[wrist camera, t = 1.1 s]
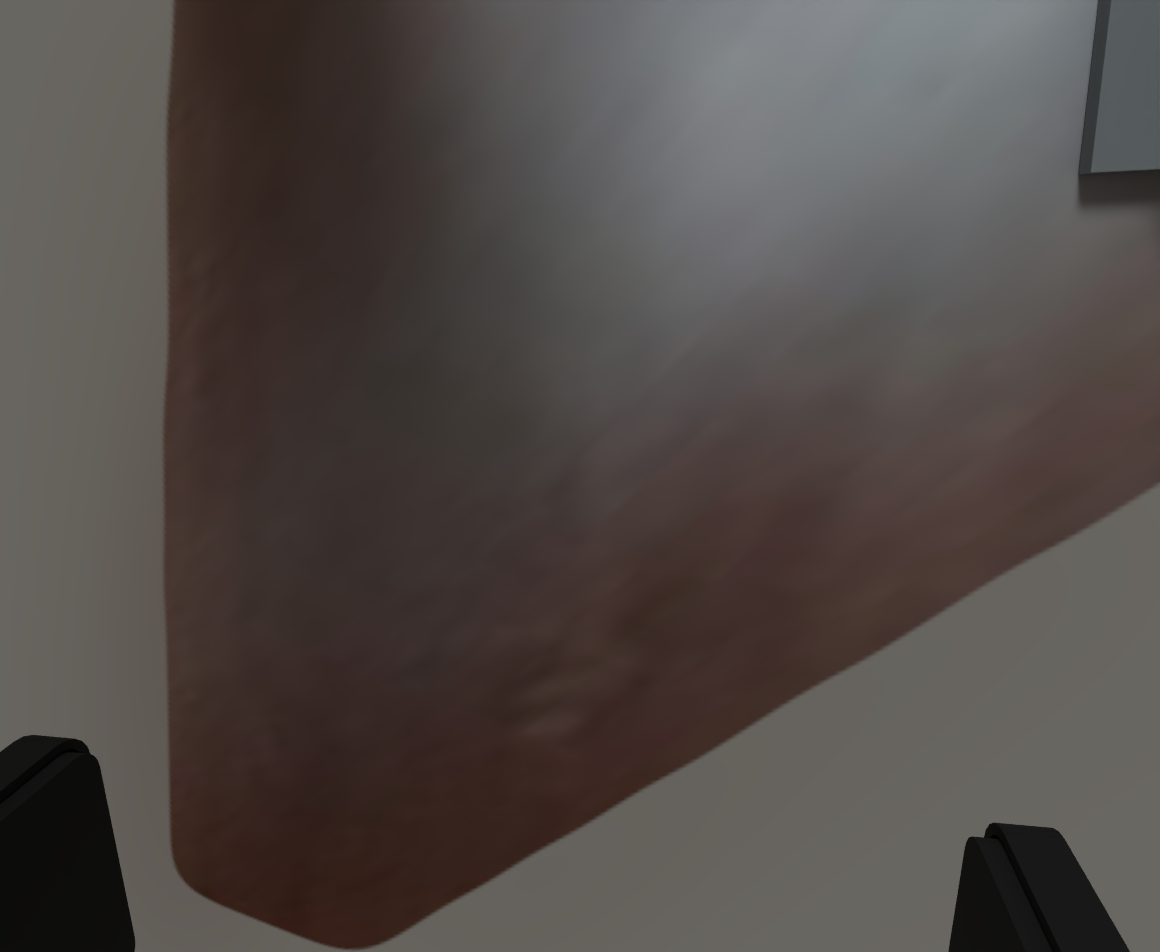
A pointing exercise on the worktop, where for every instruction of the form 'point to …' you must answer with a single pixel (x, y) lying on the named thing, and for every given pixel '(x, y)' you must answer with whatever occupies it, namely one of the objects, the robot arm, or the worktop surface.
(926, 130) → the worktop surface
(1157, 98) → the bracket board
